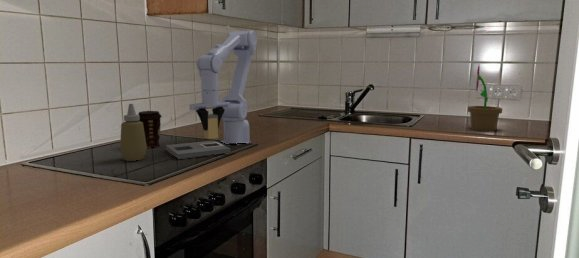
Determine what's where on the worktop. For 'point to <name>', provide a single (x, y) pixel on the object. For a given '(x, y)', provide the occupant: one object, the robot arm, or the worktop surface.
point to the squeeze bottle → (132, 136)
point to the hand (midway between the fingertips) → (210, 129)
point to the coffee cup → (151, 127)
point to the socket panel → (197, 149)
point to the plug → (212, 127)
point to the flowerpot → (483, 112)
